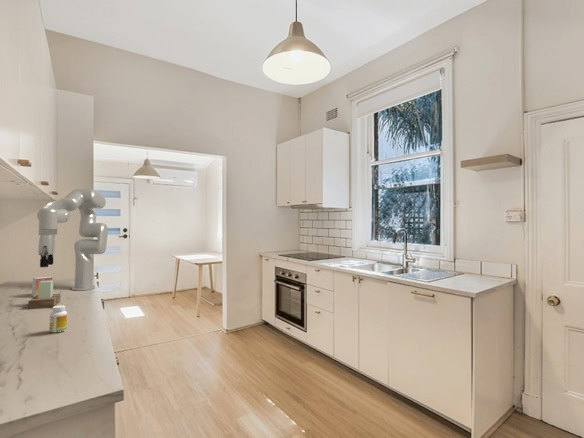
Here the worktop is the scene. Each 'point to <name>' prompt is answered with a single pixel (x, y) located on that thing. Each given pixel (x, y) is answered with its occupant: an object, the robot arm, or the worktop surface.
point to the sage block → (45, 289)
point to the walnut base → (44, 302)
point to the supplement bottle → (58, 319)
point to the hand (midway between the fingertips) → (46, 265)
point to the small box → (36, 284)
